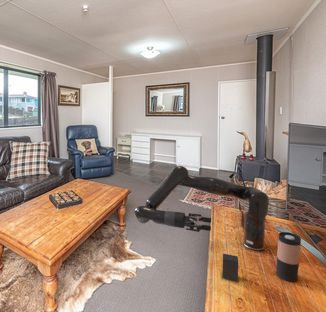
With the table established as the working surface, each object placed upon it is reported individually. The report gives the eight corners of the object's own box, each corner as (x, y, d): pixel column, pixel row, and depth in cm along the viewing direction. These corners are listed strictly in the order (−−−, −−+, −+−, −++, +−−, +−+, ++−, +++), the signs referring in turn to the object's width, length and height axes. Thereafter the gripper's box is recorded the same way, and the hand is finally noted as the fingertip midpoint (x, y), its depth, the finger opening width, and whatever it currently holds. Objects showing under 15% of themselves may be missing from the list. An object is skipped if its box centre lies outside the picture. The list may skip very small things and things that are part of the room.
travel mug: (277, 268, 110) (279, 230, 107) (298, 275, 105) (302, 235, 101) (274, 277, 105) (277, 236, 101) (296, 284, 99) (300, 242, 96)
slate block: (222, 272, 110) (222, 253, 109) (236, 275, 107) (237, 256, 106) (222, 278, 106) (223, 258, 105) (237, 281, 104) (238, 261, 102)
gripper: (172, 218, 108) (210, 223, 100) (176, 206, 120) (211, 210, 112) (172, 232, 109) (210, 239, 101) (176, 220, 121) (211, 225, 113)
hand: (211, 224), depth 107 cm, fingers open, 8 cm apart
